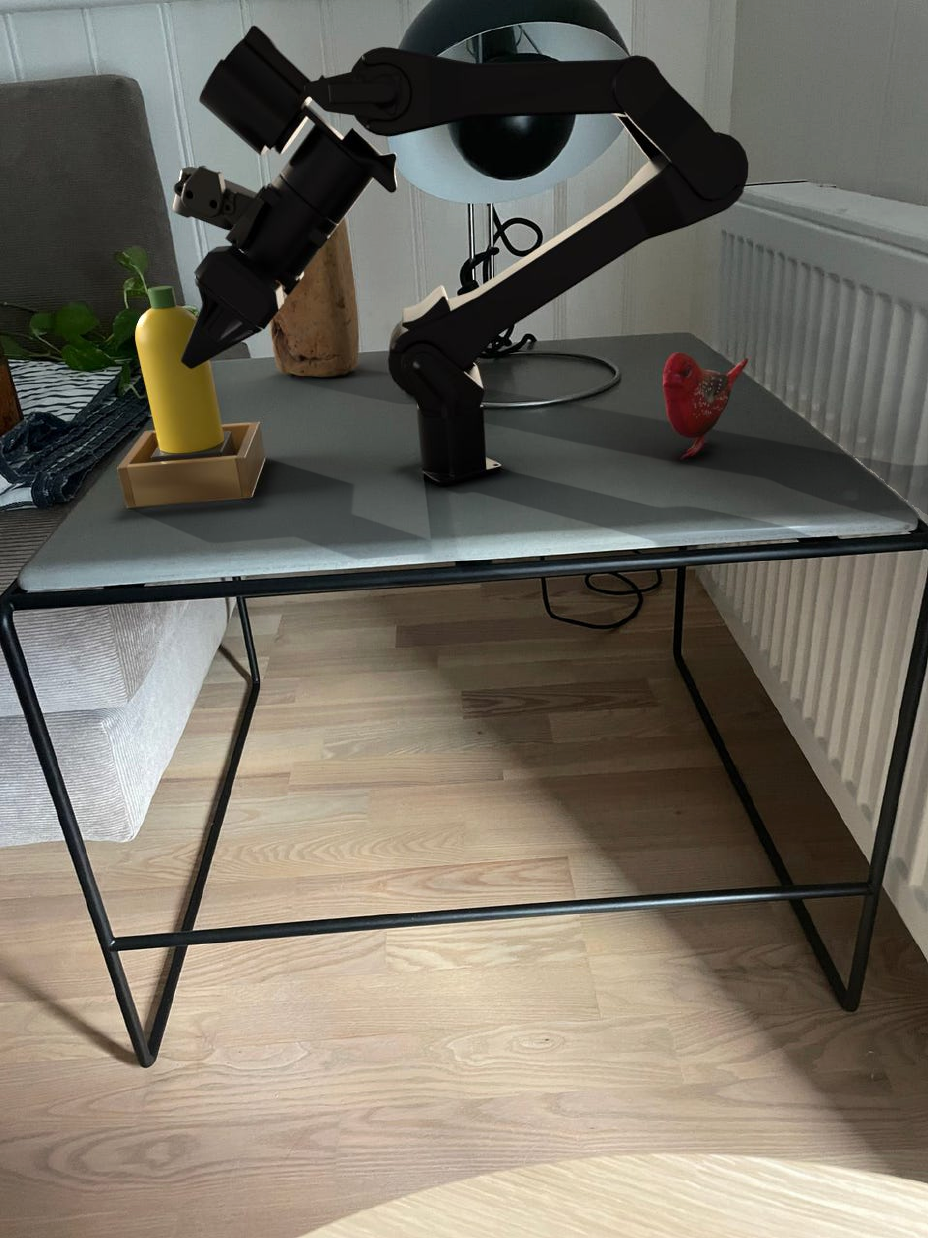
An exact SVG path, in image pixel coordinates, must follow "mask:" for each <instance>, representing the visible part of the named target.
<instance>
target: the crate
mask: <svg viewBox="0 0 928 1238" xmlns="http://www.w3.org/2000/svg"><path fill="white" fill-rule="evenodd" d="M222 429H223V431H231V433H232V438H233V444H234V449H235V454H236V455H235V456H223V457H211V458H199V459H187V460H175V461H163V462H152V460H151V456H152V455H153V454H154V452H155V451H156V449H157V448H158V446H159V444H158V440H157V435H156V431H155V429H152V430H151V429H149V430H145V431H143V433H142V435H141V436H140V437H139V439H138V440H137V441H136V442H135V443H134V445H133V447H132V448H131V449H130V451H129V452H128V453H127V454H126V456H125V457H124V458H123V459H122V461H121V462H120V463H119V465H118V466H117V468H116V469H117V475H118V479H119V482H120V486H121V487H120V488H121V490H122V494H123V498H124V502H125V507H126V509H130V508H143V507H144V508H145V507H154V506H168V505H178V504H189V503H190V504H191V503H203V502H211V501H224V500H225V501H226V500H236V499H237V500H239V499H249V498H253V496H254V493H255V489H256V487H257V483H258V481H259V478H260V475H261V473H262V469H263V467H264V463H265V461H266V452H265V445H264V440H263V435H262V429H261V423H260V421H251V422H250V421H249V422H238V423H225V424H222Z"/></svg>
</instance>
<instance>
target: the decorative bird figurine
mask: <svg viewBox="0 0 928 1238" xmlns="http://www.w3.org/2000/svg"><path fill="white" fill-rule="evenodd" d="M748 362H749V357H748V358H744V359H743V360H742V361H740V362H739V363H738V364H737V365H736V366H735V367H733V368H732V369H731V370H730V371H729V372H728V373H726V374H724V373H722V372H720V371H717V370H712V369H702V368H700V367H699V365H698V363H697V362H696V360H695V359H694V357H692V356H690V355H689V354H687V353H684V352H680V351H679V352H678V351H676V352H674V353H672V354H670V356H669V357H668V359H667V361H666V363H665V365H664V368H663V374H662V392H663V396H664V402H665V411H666V415H667V419H668V421H669V423H670V425H671V427H672V429H673V430H674V431H675V432H676V433H677V434H679V435H680V436H682V437H684V438H689V439H695V438H696V440H695V442H693V445H692V446H691V447H690V448H688V449H687V451H686V454H685V453H684V454H683V455H682V456H681V458H680V460H682V459H684V458H687V457H694V456H695V455H696V454H697V453H698V452H699V451H700V450H702V449H703V448H704V445H707V444H708V443H707V441H706V440H704V438H705V436H706V435H707V433H709V432H710V431H712V429H714V427H715V426H716V424H717V423H718V421H719V419H720V418H721V416H722V413H723V412H724V410H725V409H726V407H727V405H728V403H729V400H730V395H731V392H732V388H733V385H734V384H735V382H736V380H737V379H738V378H739V376H740V375H741V373H742V372H743V370H744V369H745V367H746V366H747V364H748Z"/></svg>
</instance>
